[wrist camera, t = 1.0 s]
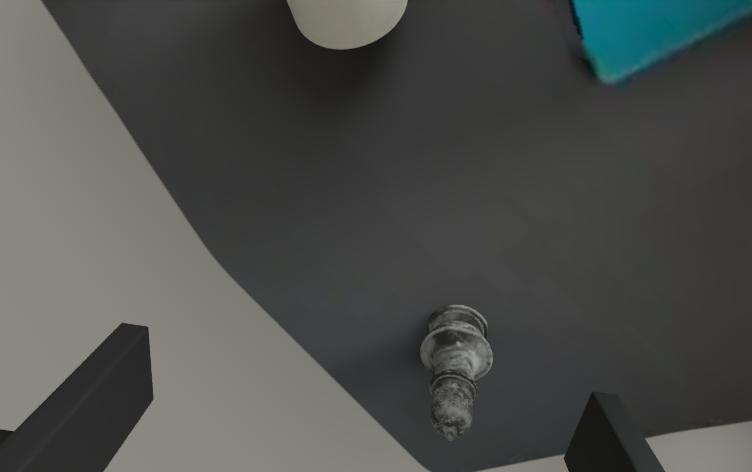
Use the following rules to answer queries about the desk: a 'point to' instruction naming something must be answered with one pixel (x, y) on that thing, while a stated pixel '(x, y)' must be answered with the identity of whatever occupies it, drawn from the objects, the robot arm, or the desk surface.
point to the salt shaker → (455, 366)
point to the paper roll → (346, 20)
